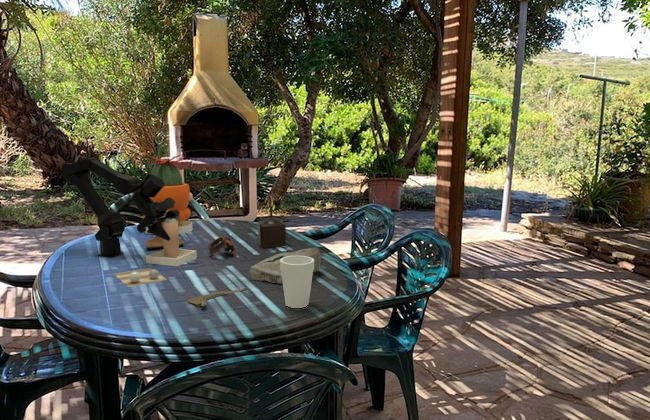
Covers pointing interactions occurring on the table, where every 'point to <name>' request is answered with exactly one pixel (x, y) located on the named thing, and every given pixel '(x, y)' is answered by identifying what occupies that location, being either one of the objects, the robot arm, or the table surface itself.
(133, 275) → the white pebble
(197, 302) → the jawbone
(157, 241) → the brown flared stand
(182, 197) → the potted cactus
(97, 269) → the table surface
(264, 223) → the brown potted sapling
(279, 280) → the stone
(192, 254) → the cream dish
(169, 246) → the terracotta jar
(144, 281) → the beech board
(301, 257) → the foam cup
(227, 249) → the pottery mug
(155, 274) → the grey pebble
